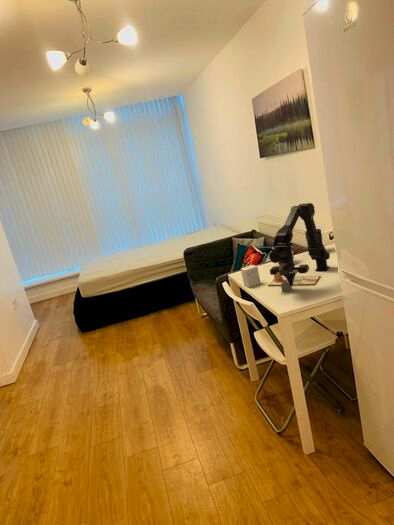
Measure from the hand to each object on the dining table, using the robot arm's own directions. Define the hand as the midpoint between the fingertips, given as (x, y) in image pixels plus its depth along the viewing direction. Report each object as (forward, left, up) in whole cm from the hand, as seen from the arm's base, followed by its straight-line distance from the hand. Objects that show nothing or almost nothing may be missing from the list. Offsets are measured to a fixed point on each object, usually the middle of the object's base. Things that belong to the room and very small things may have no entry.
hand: (291, 285), depth 196 cm
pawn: (-12, -12, -2) cm, 17 cm away
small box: (-9, -27, -3) cm, 28 cm away
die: (0, -3, -3) cm, 4 cm away
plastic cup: (-43, -20, -3) cm, 47 cm away
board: (-12, -3, -3) cm, 13 cm away
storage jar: (-62, -4, -3) cm, 62 cm away
